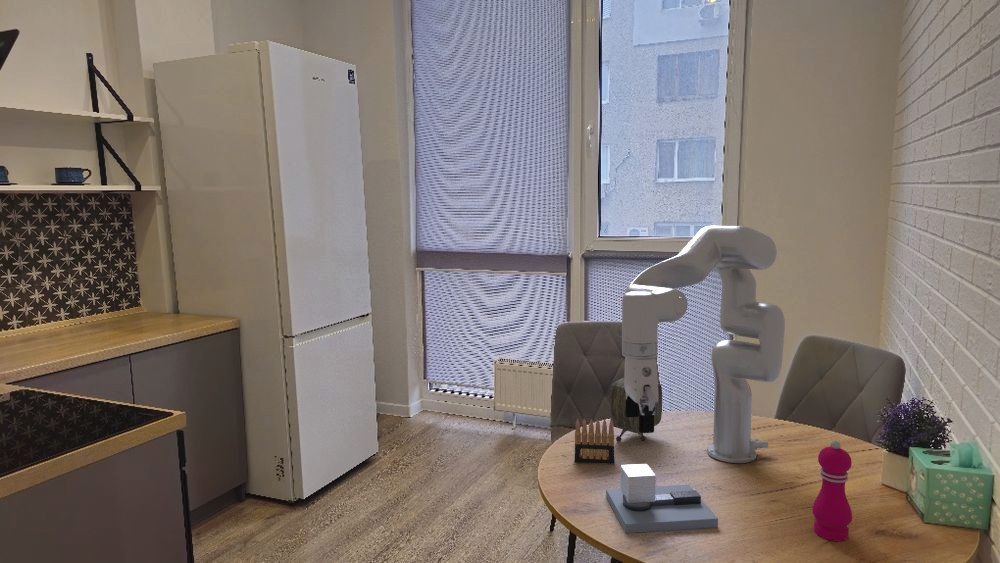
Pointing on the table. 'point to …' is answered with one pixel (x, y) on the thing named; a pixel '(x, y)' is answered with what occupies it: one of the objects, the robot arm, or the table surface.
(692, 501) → the ratchet
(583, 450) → the ammunition clip
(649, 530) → the slate board
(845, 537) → the pepper mill
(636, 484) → the matte grey cube
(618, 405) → the tabletop clock
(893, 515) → the table surface
